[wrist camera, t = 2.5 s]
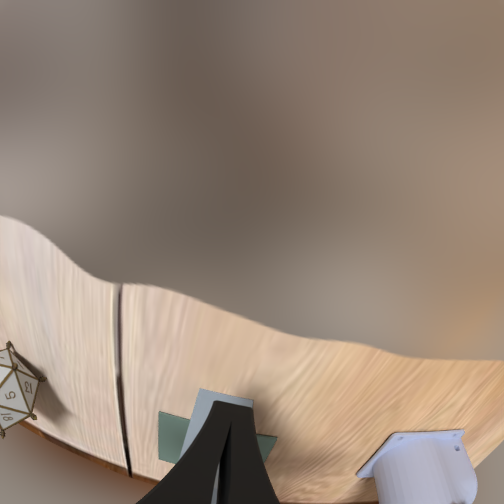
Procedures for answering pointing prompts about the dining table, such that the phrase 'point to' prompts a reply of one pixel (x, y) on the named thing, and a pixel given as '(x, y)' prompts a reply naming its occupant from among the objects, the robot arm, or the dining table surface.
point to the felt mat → (175, 433)
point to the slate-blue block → (199, 417)
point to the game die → (16, 390)
